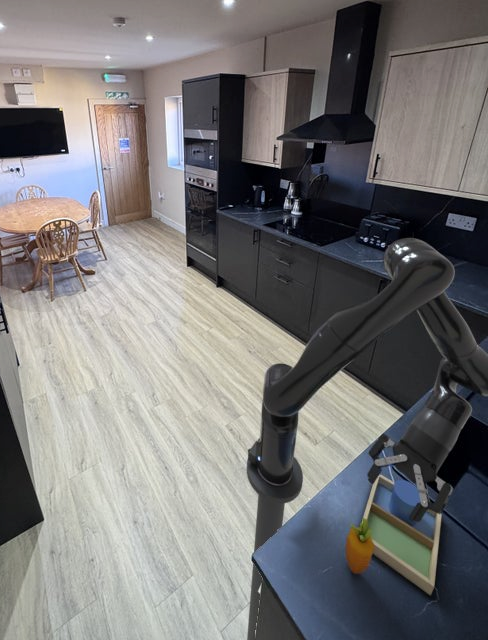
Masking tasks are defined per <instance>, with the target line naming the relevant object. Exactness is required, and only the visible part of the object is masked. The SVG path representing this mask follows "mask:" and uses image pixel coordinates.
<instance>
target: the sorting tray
mask: <svg viewBox="0 0 488 640" xmlns="http://www.w3.org/2000/svg"><path fill="white" fill-rule="evenodd" d="M394 483H395V481H393V480H391V479H389V478H387V477H386V476H384V475H382V474H381V473H380V474H379V476H378V478H377V479H376V481H375V482H374V483H373V484H372V487H371V489H370V494H369V497H368V500H367V502H366V503H367V504H366V507H365V510H364V513H363V516H362V521H361V523H363V518H365V519H367V520H368V530H369V529H370V530H371V531H372V533H371V535H370V537H371V539H372V541H373V543H374V550H373V553H372V555H374V556H375V557H377V559H379V560H380V561H382V562H384V563H385V564H386V565H388V567H390V568H391V569H393V570H394V571H396V572H397V573H398V574H400V575H401V576H403V577H404V578H405V579H407V581H409V582H410V583H413V584H414V585H415V586H417V587H418V588H419V589H420V590H421V591H423V592H424V593H425V594H427V595H429V596H432V594H433V591H434V588H435V585H436V583H435V582H436V573H437V563H438V554H439V546H440V545H439V544H440V536H441V526H442V514H443V512H442V513H441V514H438V513H435V512H434V511H432V510H427V511H426V513H425V514H424V516H423V518H422V519H421V521H420V522H417V524H416V525H415V526H410V525H408V524H407V523H405V522H403V521H402V520H400V519H399V518H397V517H396V516H394V515H392V514H391V512H390V510H389V501H390V497H391V493H392V490H393V486H394Z"/></svg>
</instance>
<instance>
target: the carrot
mask: <svg viewBox="0 0 488 640" xmlns="http://www.w3.org/2000/svg"><path fill="white" fill-rule="evenodd" d="M362 520H363V523H362V522H360V523H359V527H357V526H355V525H354V524H353V523H350V524H349V527H351V528H350V529H349V532H348V534H347V537H346V543H345V557H346V561H347V564H348V568H349V569H350V571H351V573H353V574H354V575H356V574H357V575H358V574H362V573H364V572H365V571H366V570H367V569H368V567H369V565H370V564H371V563H370V562H371V559H372V556H373V554H372V553H373V550H374V543H373V541H372V539H371V537H370V535H371V533H372V531H371V530H370V529H369V530H368V520H367V519H365V518H363V517H362Z"/></svg>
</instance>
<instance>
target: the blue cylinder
mask: <svg viewBox="0 0 488 640" xmlns="http://www.w3.org/2000/svg"><path fill="white" fill-rule="evenodd" d="M417 503H420V497H419V492H418V488H417V485H414V483H413V482H411V481H408V480H406V479H397V480H396V481H394V486H393V490H392V493H391V497H390V501H389V510H390V512H391V514H392V515H394V516H396V517H397V518H399V519H400V520H402V521H403V522H405V523H407V524H408V525H410V526H415V525H416V524H417V522H416V521H415V522H412V521H411V520H409V519H408V518H409V516H410V514H411V513H412V511H413V509H414V508H415V506H416V504H417Z"/></svg>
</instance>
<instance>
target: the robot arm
mask: <svg viewBox="0 0 488 640" xmlns="http://www.w3.org/2000/svg"><path fill="white" fill-rule="evenodd" d="M382 263H383V268H384V270H385V271H386V273H387V274H388V276H389V277H390V279H391V281H390V282H389V284H387V285H386V286H385V288H383V289H382V290H381V291H380V292H379V293H378V294H377V295H375V296H374V297H373V298H371V299H369V300H368V301H365V302H362V303H359V304H356V305H352V306H348V307H345V308H342V309H339V310H338V311H336V312H334V313H333V314H332V315H330V316H329V317H328V318H327V319H326V320H325V321H324V322H323V323H322V324H321V325H320V326H319V327H318V328H316V330H315V331H314V333H313V334H312V335H311V337H310V339H309V340H308V342H307V343H306V344H305V345H306V346H305V347H304V349H303V350H302V353H301V355H300V357H299V358H298V360H297V361H296V363H295V365H294V366H291V365H290V364H286V363H281V362H280V363H275V364H272V365H270V366H269V367H268V368H267V369H266V371H265V373H264V376H263V384H262V385H263V386H262V400H261V401H262V402H261V413H260V425H259V426H260V429H259V438H258V439H257V440H255V442H254V443H253V445H252V446H251V447H250V448H248V449H247V459H248V460H249V461H250V462H252V463H253V464H255V468H256V469H257V470H258V472H259V475H260V476H261V478H262V479H263V480H264V481H265V482H267V483H268V484H270V485H272V486H276V487H281V486H285V485H286V484H288V483H289V482H290V480H291V477H292V468H293V459H294V457H295V451H296V443H297V434H298V425H299V414H300V413H299V412H300V411H301V410H302V409H303V408H304V406H306V404H307V403H308V402H309V401H310V400H311V399H312V398H313V397H314V396H315V395H316V393H317V392H318V391H319V390H320V389H321V388H322V387H323V386H325V385H326V384H327V383H328V382H329V381H330V380H331V379H333V378H334V377H335V376H336V375H337V374H339V373H340V371H342V370H344V368H346V367H347V366H348V365H349V364H351V363H352V362H354V360H356V359H357V358H358V357H359V356H361V355H362V354H363V353H364V352H365V351H367V349H369V347H370V346H372V345H373V344H374V343H375V342H376V341H377V340H379V339H380V338H382V336H384V335H385V334H386V333H387V332H389V331H390V330H391V329H393V328H394V327H395V326H396V325H398V324H399V323H400V322H402V321H403V320H405V319H406V318H408V317H409V316H410V315H412V314H413V313H415V312H417V314H418V316H419V318H420V320H421V322H422V323H423V325H424V327H425V329H426V331H427V333H428V335H429V337H430V339H431V341H432V343H433V344H434V347H435V348H436V350H437V352H438V354H440V356H441V358H440V361H439V364H438V369H437V374H436V377H435V381H434V385H433V389H432V392H431V393H430V394H429V396H428V398H427V399H426V401H425V403H424V405H423V406H422V407H421V408H420V409H419V411H418V412H417V413H416V414H415V416H414V417H413V419H412V420H411V422H410V423H409V425H408V426H407V428H406V429H405V432H404V433H403V434H402V436H401V438H400V439H399V441H398V442H396V443H395V442H394V441H393V440H392V439H391V438H390V436H388V435H387V434H385V433H382V434H381V435H380V436H379V437H378V439H377V440H376V441H375V443H374V444H373V445H372V447H371V448H370V449H369V450H368V455H369V456H370V458H371V459H372V461H373V464H372V466H371V467H370V469H369V470H368V472H367V475H366V476H367V478H368V479H367V481H368V482H369V483H370V484H372V485H373V483H374V482H375V481H376V479H377V478H378V476H379V474H381V473H382V471H383V468H388V467H395V468H396V470H398V472H400V473H402V474H403V475H405V477H406V478H407V479H408V480H409V481H410V482H411V483H413V484H416V487H417V488H418V492H419V497H420V503H417V504H416V506H415V508H414V509H413V511H412V513H411V514H410V516H409V518H408V519H409V520H411V521H412V522H415V521H416V522H420V521H421V519H422V518H423V516H424V514H425V513H426V511H427V510H432V511H434V512H435V513H438V514H441V513H442V514H443V512H444V509H445V508H446V506H447V504H448V502H449V500H450V497H451V496H452V494H453V492H454V488H453V486H452V485H451V484H450V483H447V482H446V481H444V480H443V479H442V478H440V477H439V476H438V475H439V473H438V471H439V470H440V468H441V467H442V465H443V463H444V462H445V460H446V458H447V457H448V456H449V453H450V452H451V451H452V450H453V449H454V447H455V445H456V442H457V440H458V439H459V435H460V433H461V431H462V430H463V428H464V426H465V424H466V423H467V421H468V419H469V418H470V416H471V415H472V412H473V407H472V405H471V404H470V402H469V401H467V400H466V399H465V398H463V397H462V396H460V395H459V394H458V393H457V385H459V386H461V387H463V388H465V389H466V390H469V391H471V392H473V393H475V394H477V395H481V396H484V397H488V352H486V351H485V350H484V349H483V348H482V347H480V346H479V345H478V343H477V341H476V338H475V337H474V334H473V333H472V331H471V329H470V327H469V325H468V323H467V322H466V320H465V319H464V317H463V316H462V315H461V313H460V312H459V310H458V309H457V308H456V306H455V305H454V304H453V302H452V300H451V299H450V298H449V296H448V295H447V293H446V292H445V291H446V290H447V289H448V288H449V287H450V285H451V284H452V282H453V281H454V279H455V273H456V271H455V267H454V265H453V263H452V262H451V261H450V259H448V258H447V257H445V256H444V255H443V254H441V252H439V251H438V250H436V249H435V248H434V247H433V246H432V245H430V244H429V243H427V242H426V241H424V240H421V239H418V238H414V237H405V238H400V239H397V240H395V241H393V242H392V243H391V244H390V245H388V246H387V247H386V248H385V251H384V252H383V256H382ZM390 447H391V449H392V455H391V456H385V457H383V458H380V457H379V456H380V455H381V454H382V452H383V450H384V449H385V448H387V449H389V448H390ZM432 482H433V483H434V482H436V484H437V486H436V488H437V490H438V491H439V492H438V494H437V496H436V498H435V501H434V503H433V502H431V501H430V500H431V499H430V496H429V489H428V484H427V483H432Z"/></svg>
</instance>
